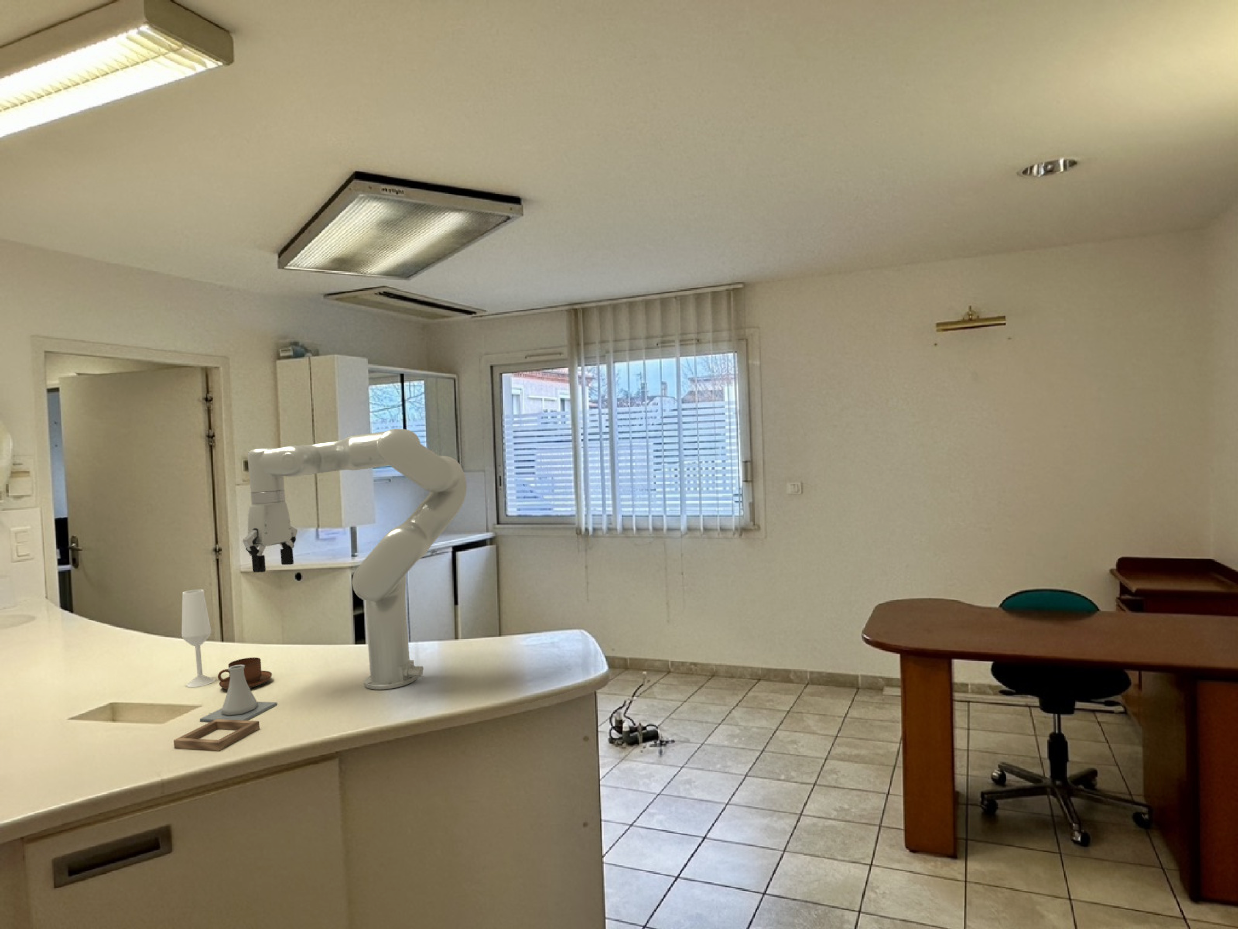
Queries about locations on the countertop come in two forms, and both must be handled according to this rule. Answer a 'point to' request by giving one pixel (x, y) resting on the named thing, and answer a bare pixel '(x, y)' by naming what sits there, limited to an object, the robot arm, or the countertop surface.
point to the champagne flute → (196, 629)
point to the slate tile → (245, 716)
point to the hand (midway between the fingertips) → (273, 568)
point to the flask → (238, 693)
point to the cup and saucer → (247, 673)
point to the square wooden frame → (241, 731)
